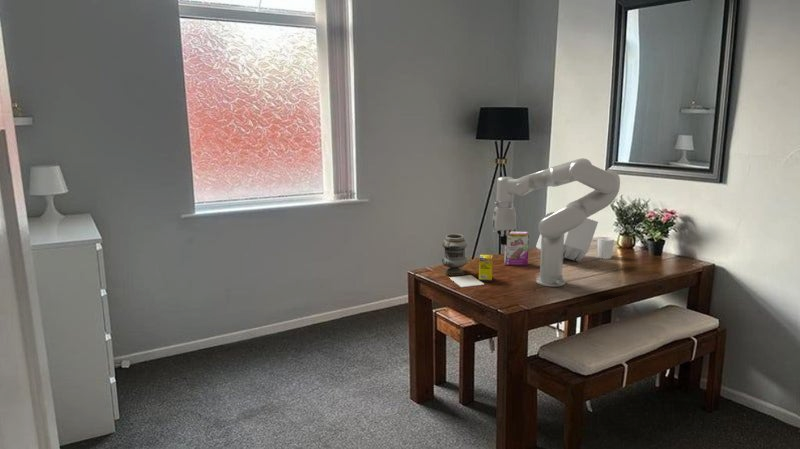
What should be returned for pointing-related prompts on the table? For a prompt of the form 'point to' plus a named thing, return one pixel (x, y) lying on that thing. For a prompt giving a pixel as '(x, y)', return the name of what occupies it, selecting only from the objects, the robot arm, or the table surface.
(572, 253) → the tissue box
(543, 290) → the table surface
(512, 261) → the candy bar box
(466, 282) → the felt mat
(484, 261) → the supplement box
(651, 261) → the table surface
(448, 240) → the apothecary jar
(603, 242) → the white cup
